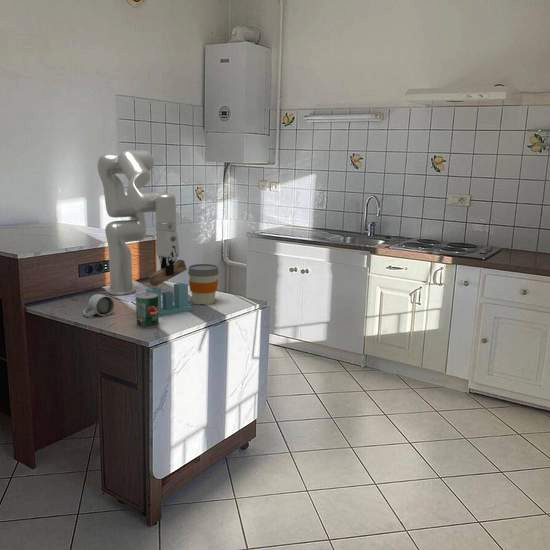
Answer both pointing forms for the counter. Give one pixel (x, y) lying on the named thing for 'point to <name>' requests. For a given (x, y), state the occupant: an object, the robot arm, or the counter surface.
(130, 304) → the counter surface
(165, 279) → the walnut bar
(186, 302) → the display stand
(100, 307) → the ceramic mug
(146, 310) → the canned tomato
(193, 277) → the reusable coffee cup
